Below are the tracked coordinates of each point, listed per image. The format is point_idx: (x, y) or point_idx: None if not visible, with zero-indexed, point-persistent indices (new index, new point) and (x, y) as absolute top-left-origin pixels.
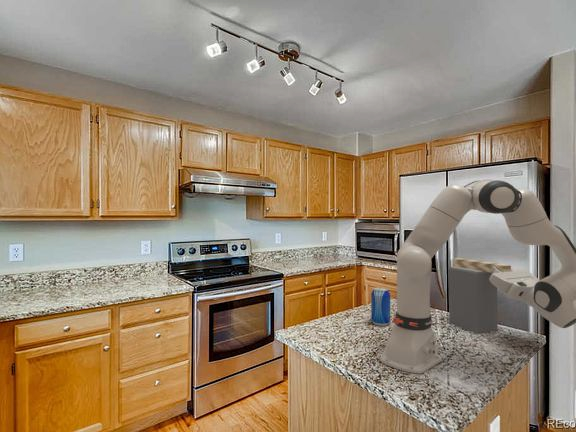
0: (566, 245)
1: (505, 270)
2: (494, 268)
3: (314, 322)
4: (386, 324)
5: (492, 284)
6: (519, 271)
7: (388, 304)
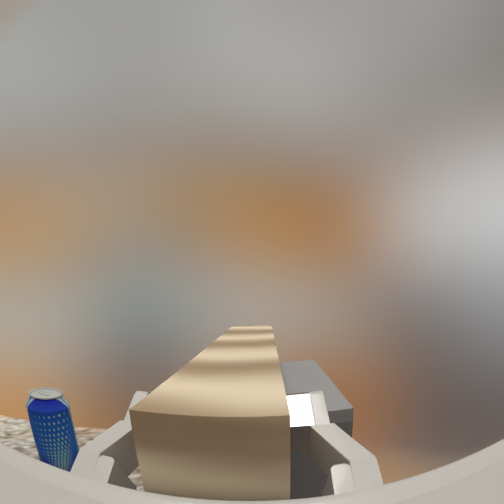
0: None
1: (166, 472)
2: (129, 414)
3: (10, 419)
4: None
5: (298, 497)
6: (413, 498)
7: (43, 433)
